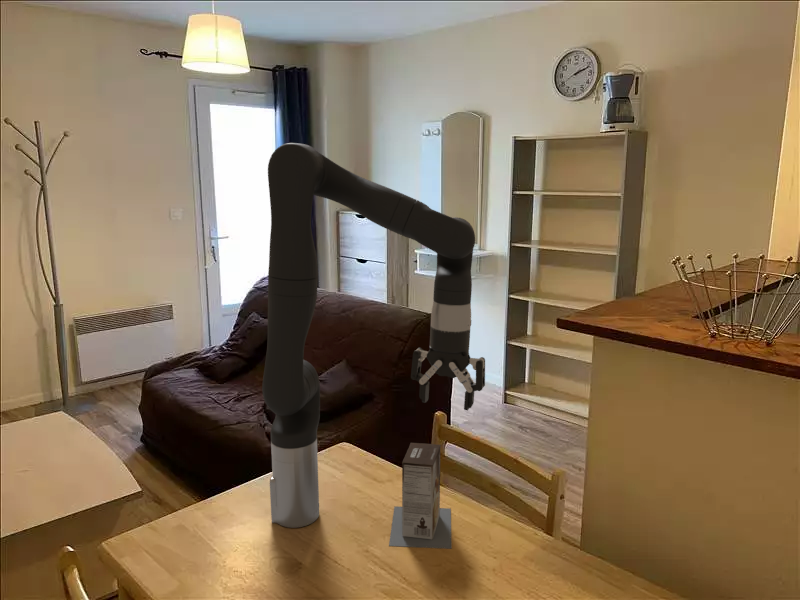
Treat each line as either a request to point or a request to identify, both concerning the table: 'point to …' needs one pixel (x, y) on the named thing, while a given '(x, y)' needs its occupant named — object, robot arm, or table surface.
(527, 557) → the table surface
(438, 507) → the coffee box
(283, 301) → the robot arm
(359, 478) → the table surface
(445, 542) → the mat
